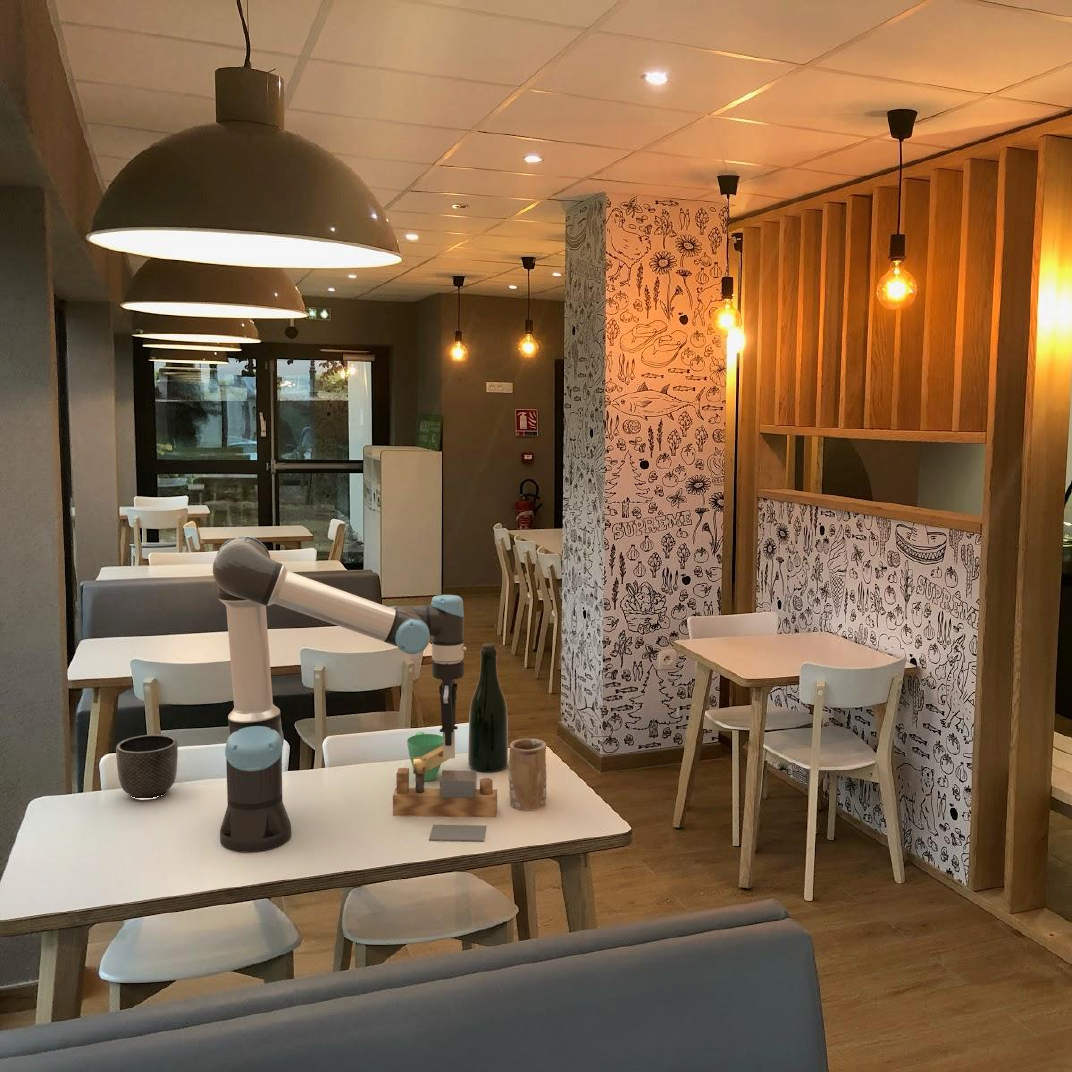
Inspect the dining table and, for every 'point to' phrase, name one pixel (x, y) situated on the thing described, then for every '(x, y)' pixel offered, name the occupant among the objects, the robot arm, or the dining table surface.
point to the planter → (147, 765)
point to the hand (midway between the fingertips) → (448, 757)
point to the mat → (458, 833)
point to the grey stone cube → (458, 784)
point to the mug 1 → (424, 749)
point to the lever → (428, 761)
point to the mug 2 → (527, 774)
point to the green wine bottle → (488, 718)
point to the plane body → (441, 799)
